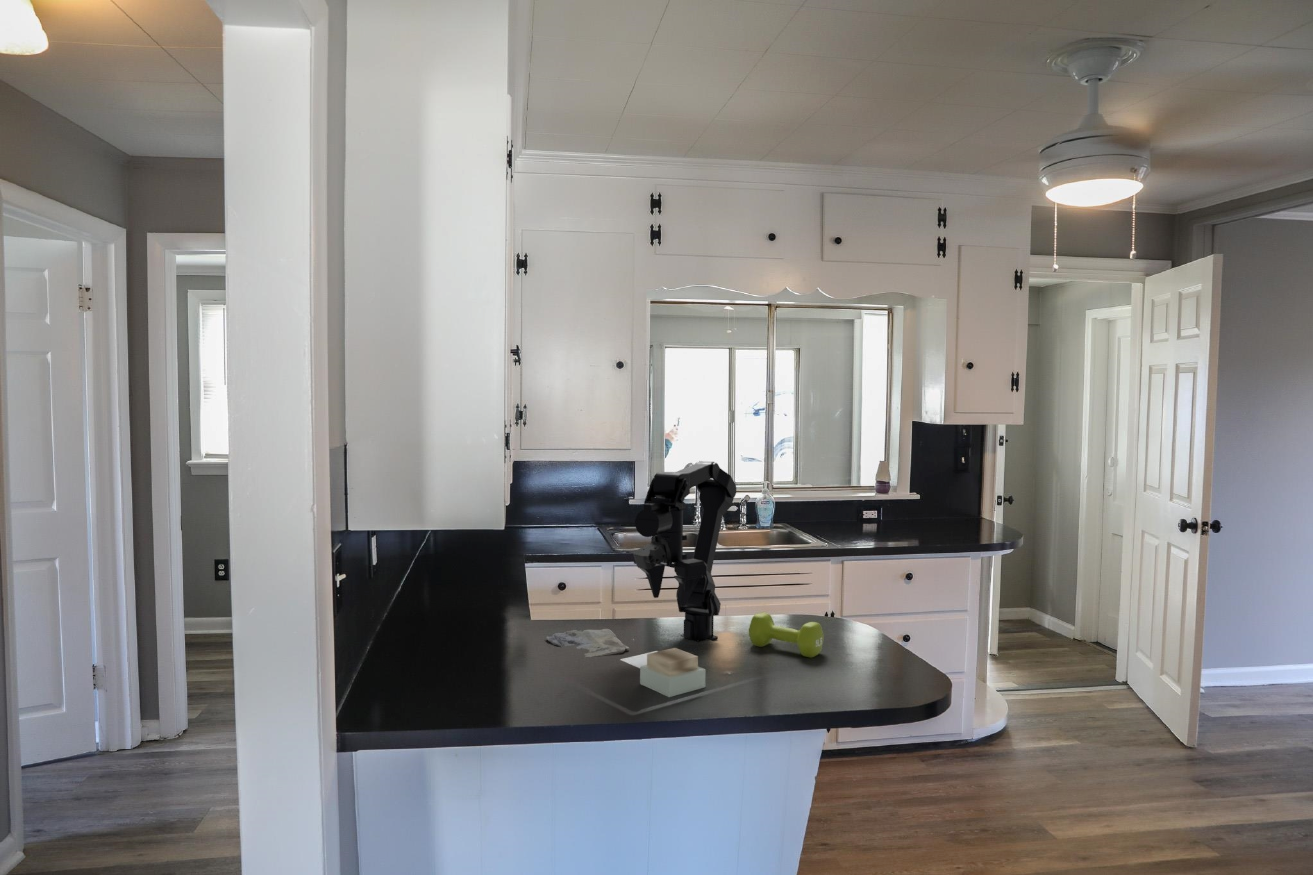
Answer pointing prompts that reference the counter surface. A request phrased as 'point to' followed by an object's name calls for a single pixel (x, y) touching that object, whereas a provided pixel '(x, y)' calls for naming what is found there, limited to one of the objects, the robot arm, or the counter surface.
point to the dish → (672, 681)
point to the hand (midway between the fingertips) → (669, 601)
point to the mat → (637, 660)
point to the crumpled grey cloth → (590, 641)
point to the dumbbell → (786, 634)
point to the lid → (672, 661)
